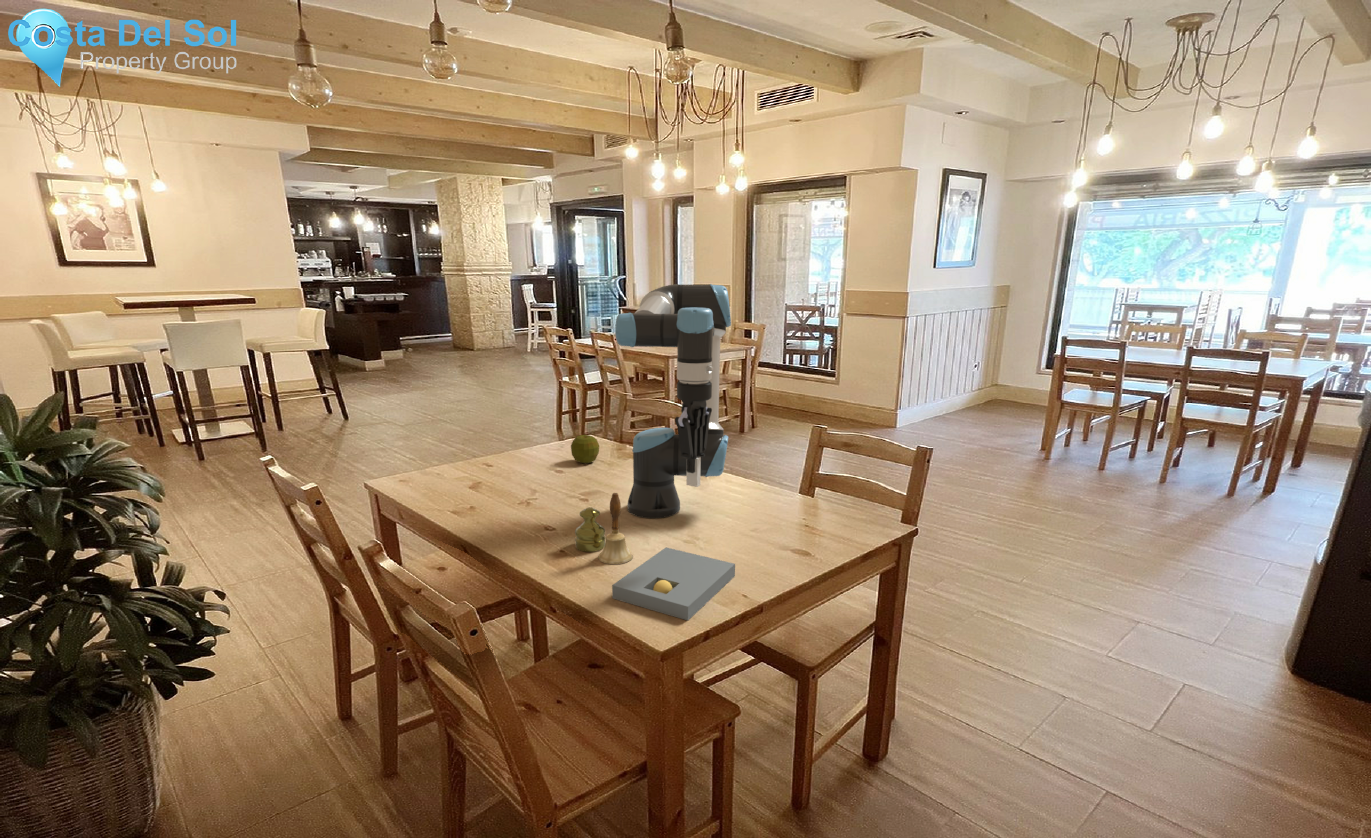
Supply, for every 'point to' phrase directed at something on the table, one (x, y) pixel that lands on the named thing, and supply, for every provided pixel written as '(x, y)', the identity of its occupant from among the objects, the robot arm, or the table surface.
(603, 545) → the olive green tall piece
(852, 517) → the table surface
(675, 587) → the board
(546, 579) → the table surface
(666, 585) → the ball
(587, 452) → the apple
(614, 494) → the hand bell
